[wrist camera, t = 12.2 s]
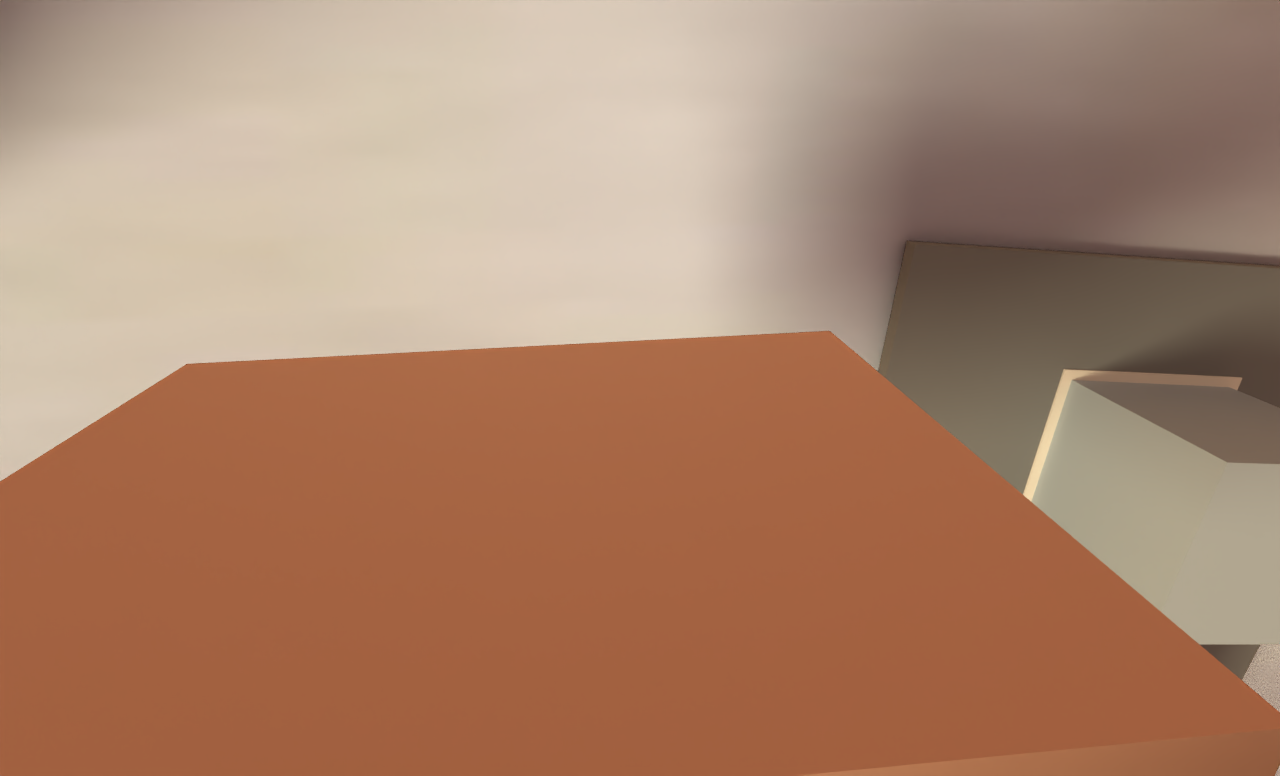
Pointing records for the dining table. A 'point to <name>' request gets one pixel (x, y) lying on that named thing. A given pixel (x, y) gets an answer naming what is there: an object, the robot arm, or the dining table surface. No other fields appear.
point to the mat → (1070, 343)
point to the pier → (1175, 499)
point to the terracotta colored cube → (574, 582)
